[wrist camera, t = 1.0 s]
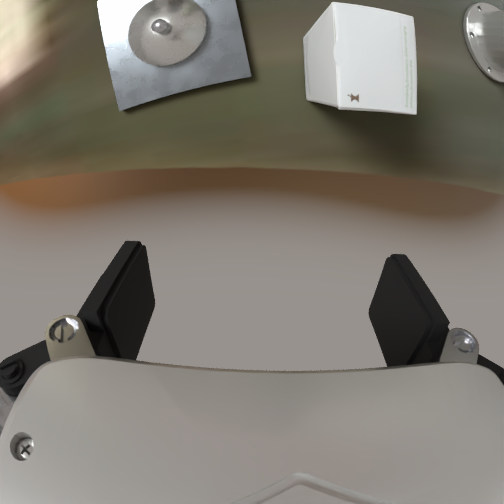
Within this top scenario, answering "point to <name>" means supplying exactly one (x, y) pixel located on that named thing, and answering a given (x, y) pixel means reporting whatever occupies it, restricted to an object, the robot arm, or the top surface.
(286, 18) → the top surface
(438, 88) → the top surface
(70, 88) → the top surface
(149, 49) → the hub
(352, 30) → the skincare box
